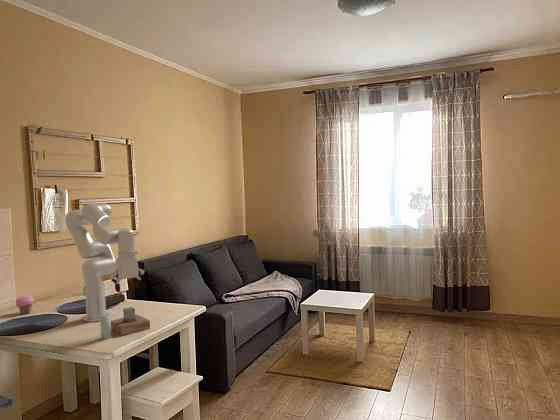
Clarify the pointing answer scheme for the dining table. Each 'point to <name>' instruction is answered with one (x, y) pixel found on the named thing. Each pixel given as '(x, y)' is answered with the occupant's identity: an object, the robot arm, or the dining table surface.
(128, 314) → the square peg
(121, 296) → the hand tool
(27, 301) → the cupcake
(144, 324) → the socket block
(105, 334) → the round peg
